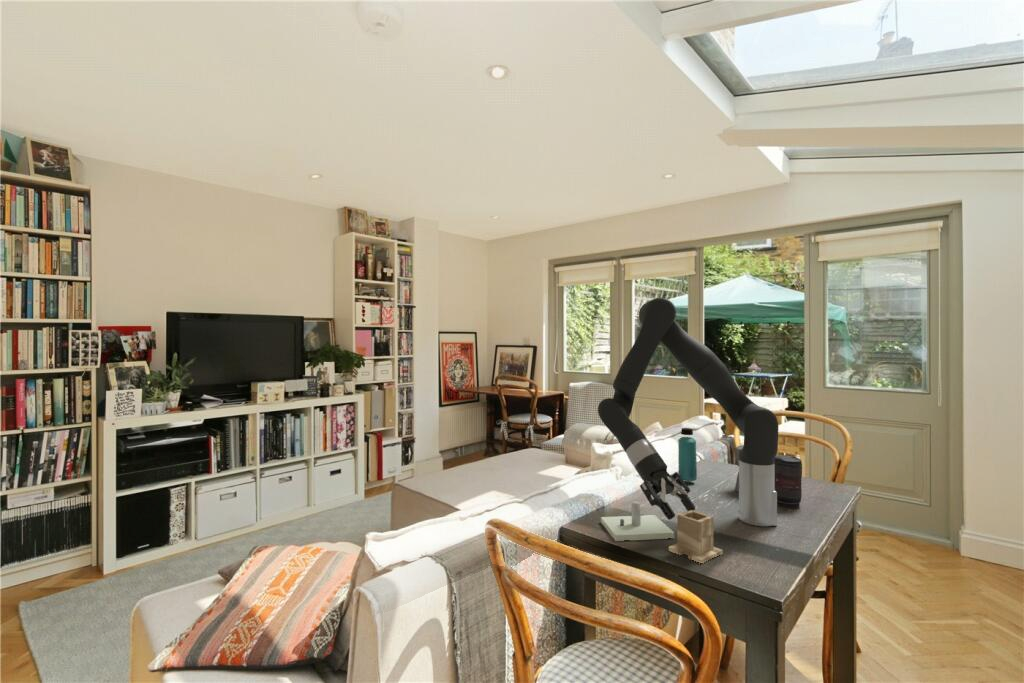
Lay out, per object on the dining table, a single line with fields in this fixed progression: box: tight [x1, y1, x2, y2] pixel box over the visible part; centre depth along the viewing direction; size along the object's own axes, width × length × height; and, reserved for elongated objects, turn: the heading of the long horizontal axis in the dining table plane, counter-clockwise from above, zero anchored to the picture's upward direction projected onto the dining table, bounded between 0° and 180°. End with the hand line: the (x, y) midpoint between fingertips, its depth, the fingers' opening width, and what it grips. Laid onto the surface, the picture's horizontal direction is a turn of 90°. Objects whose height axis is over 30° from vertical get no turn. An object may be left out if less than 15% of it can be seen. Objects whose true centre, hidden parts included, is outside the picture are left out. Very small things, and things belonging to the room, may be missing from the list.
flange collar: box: [668, 510, 724, 564], centre depth 118 cm, size 9×9×9 cm
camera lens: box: [775, 454, 803, 509], centre depth 152 cm, size 8×8×15 cm
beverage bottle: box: [677, 427, 698, 482], centre depth 176 cm, size 6×7×20 cm
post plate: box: [600, 501, 675, 542], centre depth 132 cm, size 16×13×8 cm
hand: (682, 514), depth 121 cm, fingers open, 8 cm apart
